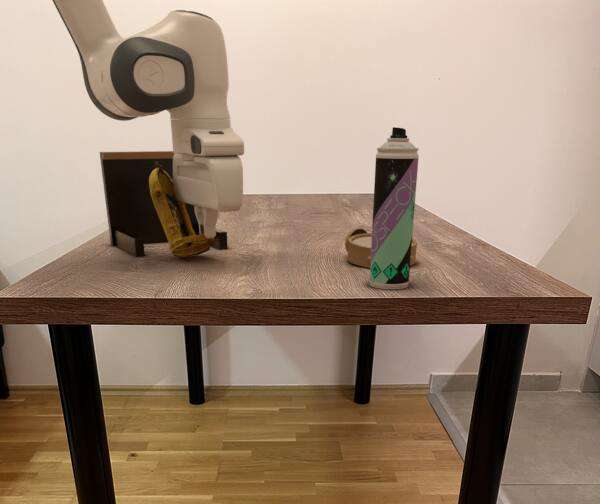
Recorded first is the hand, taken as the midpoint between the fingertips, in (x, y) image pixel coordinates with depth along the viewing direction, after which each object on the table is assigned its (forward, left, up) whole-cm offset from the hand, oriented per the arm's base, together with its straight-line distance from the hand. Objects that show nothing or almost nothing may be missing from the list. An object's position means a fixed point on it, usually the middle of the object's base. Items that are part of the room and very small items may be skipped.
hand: (207, 236), depth 102 cm
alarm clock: (+26, -11, -4) cm, 29 cm away
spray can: (+16, -27, -4) cm, 32 cm away
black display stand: (0, +18, -4) cm, 18 cm away
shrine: (-2, +6, -4) cm, 8 cm away
